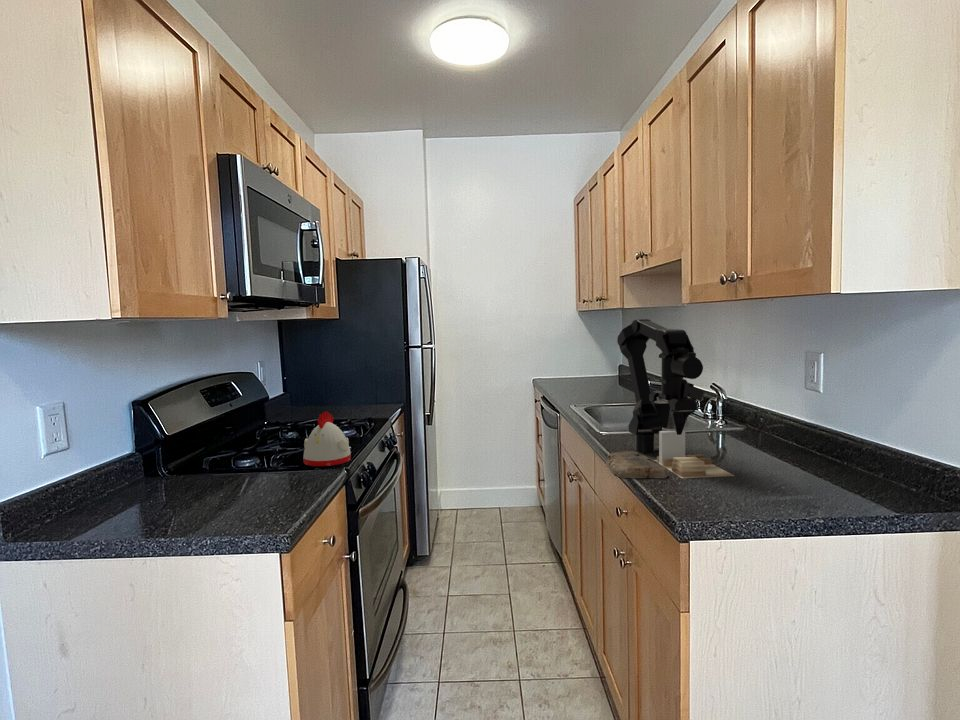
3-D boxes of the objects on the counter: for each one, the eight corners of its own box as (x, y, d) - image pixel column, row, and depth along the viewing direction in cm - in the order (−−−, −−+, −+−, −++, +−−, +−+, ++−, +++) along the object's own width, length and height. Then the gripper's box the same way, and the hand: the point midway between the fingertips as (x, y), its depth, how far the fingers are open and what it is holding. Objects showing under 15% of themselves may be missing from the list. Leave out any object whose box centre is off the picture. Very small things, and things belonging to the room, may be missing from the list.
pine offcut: (672, 462, 144) (672, 457, 144) (694, 461, 145) (694, 456, 145) (681, 467, 139) (681, 462, 139) (704, 466, 140) (704, 461, 139)
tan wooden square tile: (671, 470, 145) (671, 466, 145) (694, 469, 145) (694, 465, 145) (681, 476, 139) (681, 472, 139) (705, 475, 139) (705, 471, 139)
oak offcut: (672, 466, 145) (672, 461, 144) (694, 465, 145) (694, 460, 145) (681, 472, 139) (681, 467, 139) (705, 471, 139) (705, 466, 139)
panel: (659, 462, 153) (659, 431, 152) (682, 461, 153) (682, 430, 153) (662, 464, 151) (662, 432, 150) (685, 463, 151) (685, 431, 151)
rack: (653, 463, 156) (653, 455, 156) (701, 461, 157) (701, 453, 157) (681, 481, 138) (681, 472, 138) (735, 478, 139) (735, 470, 139)
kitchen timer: (294, 465, 162) (292, 415, 161) (318, 454, 175) (316, 408, 174) (337, 467, 159) (335, 416, 158) (358, 455, 172) (356, 408, 171)
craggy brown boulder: (599, 463, 158) (614, 482, 139) (599, 446, 158) (614, 463, 138) (648, 463, 158) (670, 482, 138) (648, 446, 158) (670, 463, 138)
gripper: (717, 378, 142) (716, 437, 143) (685, 371, 160) (685, 423, 161) (676, 379, 141) (675, 438, 142) (648, 372, 159) (648, 425, 161)
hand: (671, 431), depth 152 cm, fingers open, 9 cm apart
